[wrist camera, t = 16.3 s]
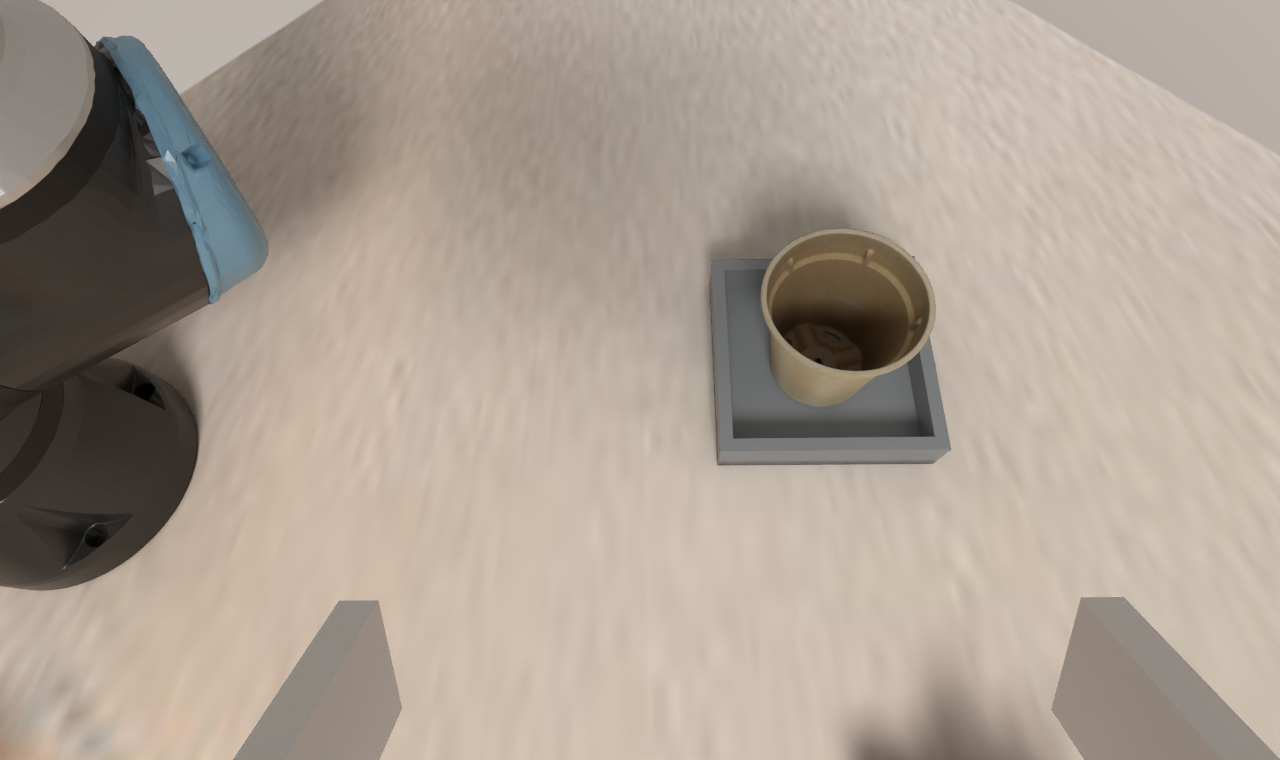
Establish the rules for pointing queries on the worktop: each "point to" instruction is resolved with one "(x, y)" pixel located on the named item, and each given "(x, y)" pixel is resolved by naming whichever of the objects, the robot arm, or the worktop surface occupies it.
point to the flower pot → (843, 313)
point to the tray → (802, 434)
